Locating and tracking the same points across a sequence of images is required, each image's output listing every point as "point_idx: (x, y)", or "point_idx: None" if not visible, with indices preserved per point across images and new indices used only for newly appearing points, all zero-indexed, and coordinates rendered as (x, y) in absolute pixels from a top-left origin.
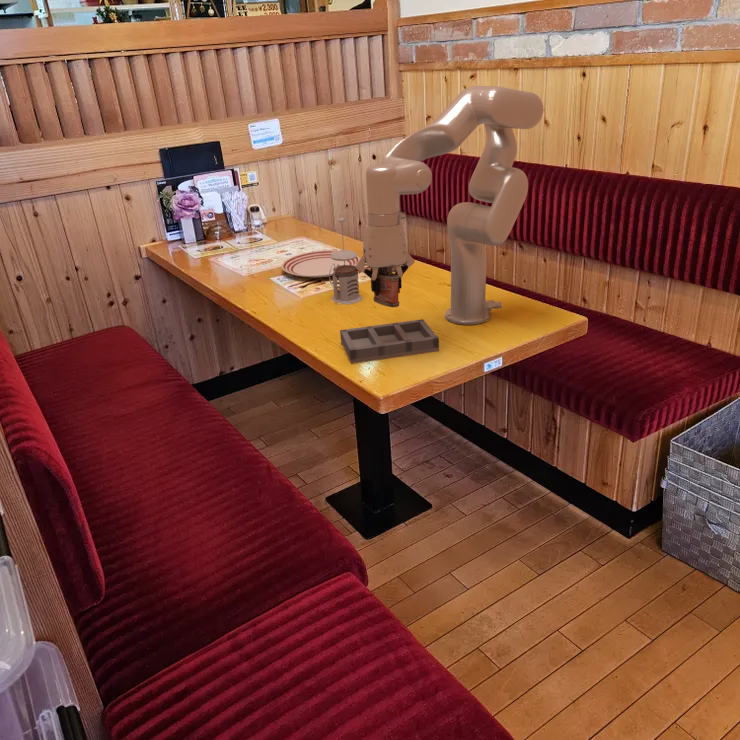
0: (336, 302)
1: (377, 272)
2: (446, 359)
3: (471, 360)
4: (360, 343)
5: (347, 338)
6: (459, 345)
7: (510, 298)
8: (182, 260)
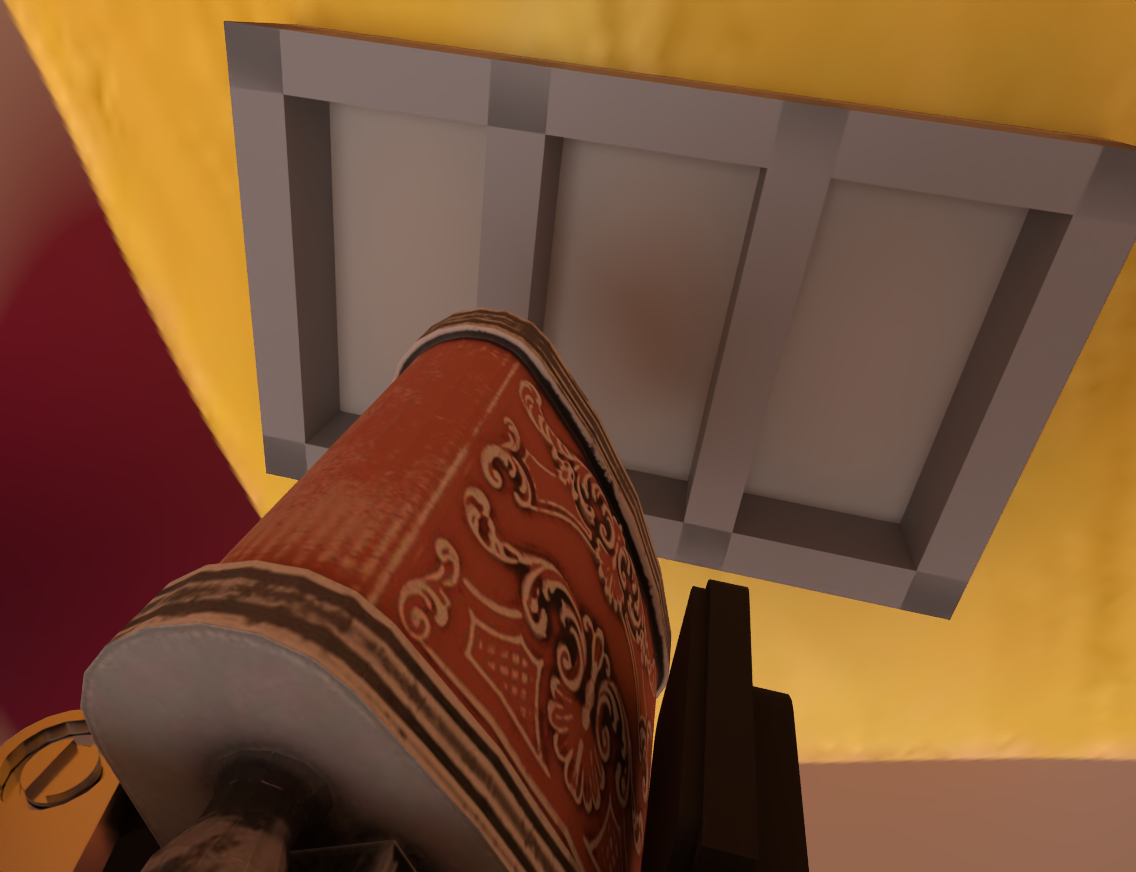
0: None
1: (207, 790)
2: (882, 660)
3: (1006, 738)
4: (419, 212)
5: (270, 260)
6: (1130, 549)
7: None
8: None
